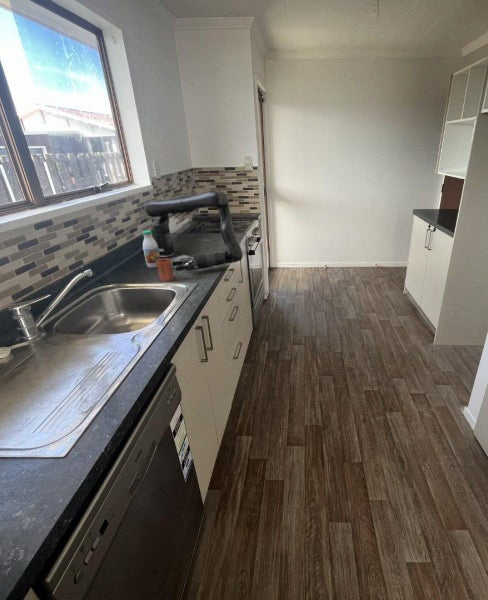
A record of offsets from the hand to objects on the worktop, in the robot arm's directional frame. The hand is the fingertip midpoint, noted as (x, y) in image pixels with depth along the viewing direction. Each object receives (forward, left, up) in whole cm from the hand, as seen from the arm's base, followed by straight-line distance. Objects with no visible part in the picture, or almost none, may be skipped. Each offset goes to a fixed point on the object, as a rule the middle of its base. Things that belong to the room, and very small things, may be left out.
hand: (174, 266), depth 166 cm
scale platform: (-15, +14, -3) cm, 21 cm away
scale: (-15, +14, -6) cm, 22 cm away
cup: (-1, -4, -6) cm, 7 cm away
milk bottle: (-26, +3, -6) cm, 27 cm away
